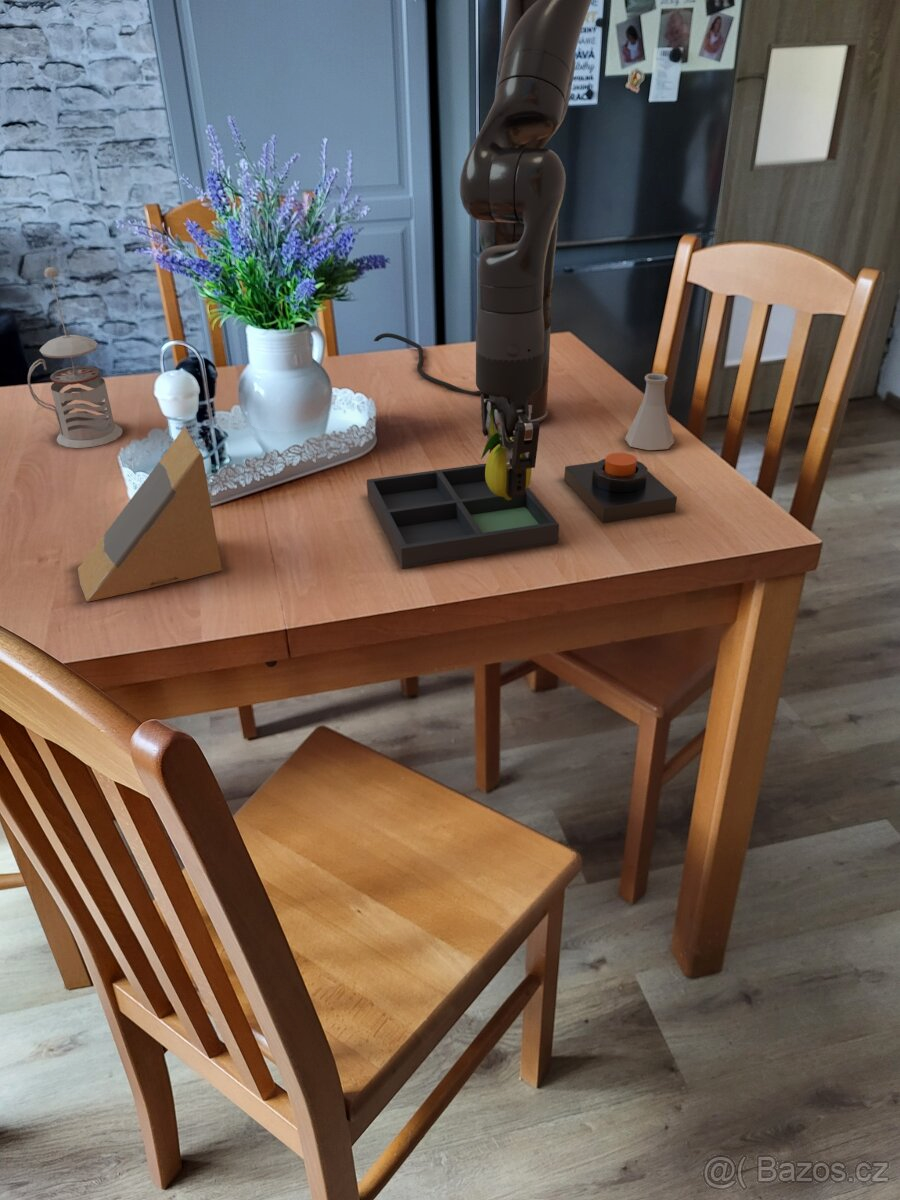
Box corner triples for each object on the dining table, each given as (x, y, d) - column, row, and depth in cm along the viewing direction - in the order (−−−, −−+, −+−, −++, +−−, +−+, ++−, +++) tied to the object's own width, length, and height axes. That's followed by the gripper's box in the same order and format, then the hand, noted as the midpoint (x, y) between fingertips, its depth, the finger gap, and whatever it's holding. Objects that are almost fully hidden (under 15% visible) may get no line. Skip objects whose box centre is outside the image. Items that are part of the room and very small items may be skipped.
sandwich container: (75, 568, 110) (44, 449, 102) (205, 539, 115) (185, 424, 107) (85, 603, 103) (52, 479, 95) (222, 571, 109) (202, 451, 101)
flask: (674, 453, 135) (682, 386, 129) (623, 450, 136) (629, 384, 131) (674, 434, 141) (682, 369, 135) (625, 431, 142) (631, 367, 137)
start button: (599, 467, 123) (600, 454, 122) (627, 463, 124) (628, 450, 123) (612, 479, 120) (613, 466, 119) (640, 475, 120) (642, 462, 119)
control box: (564, 481, 128) (565, 453, 126) (631, 471, 130) (633, 444, 128) (603, 523, 117) (605, 494, 115) (675, 512, 119) (678, 484, 117)
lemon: (480, 512, 111) (480, 432, 105) (478, 490, 116) (478, 413, 110) (537, 510, 111) (540, 431, 105) (532, 489, 116) (535, 412, 110)
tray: (367, 497, 124) (366, 479, 123) (505, 478, 129) (506, 460, 127) (402, 568, 108) (401, 548, 107) (558, 544, 113) (559, 524, 111)
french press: (125, 441, 141) (89, 271, 128) (44, 454, 138) (-3, 280, 124) (120, 419, 149) (84, 256, 136) (42, 430, 146) (-2, 264, 132)
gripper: (566, 362, 98) (558, 506, 107) (519, 325, 110) (516, 458, 119) (498, 370, 97) (496, 515, 106) (458, 331, 108) (459, 465, 117)
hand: (507, 484), depth 112 cm, fingers closed on lemon, 5 cm apart
